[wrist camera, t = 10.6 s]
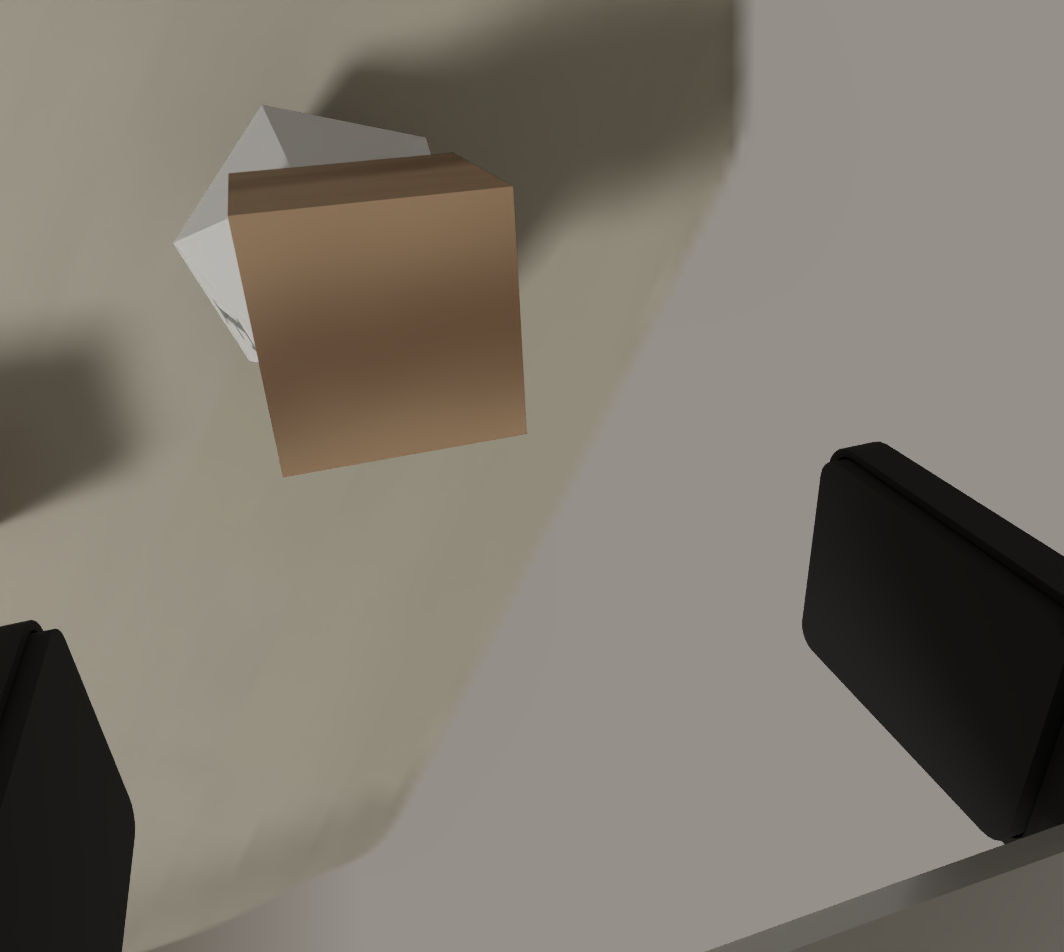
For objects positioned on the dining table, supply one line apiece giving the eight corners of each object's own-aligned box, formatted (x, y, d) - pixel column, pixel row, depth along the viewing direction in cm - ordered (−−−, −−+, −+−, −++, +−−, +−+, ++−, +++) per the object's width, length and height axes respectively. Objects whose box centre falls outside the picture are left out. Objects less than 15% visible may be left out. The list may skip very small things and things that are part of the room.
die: (206, 67, 28) (77, 263, 23) (454, 38, 26) (379, 245, 21) (304, 261, 35) (222, 449, 29) (509, 250, 33) (462, 450, 27)
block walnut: (228, 173, 22) (227, 215, 17) (452, 152, 24) (513, 186, 19) (272, 386, 25) (283, 476, 20) (470, 356, 26) (526, 433, 21)
